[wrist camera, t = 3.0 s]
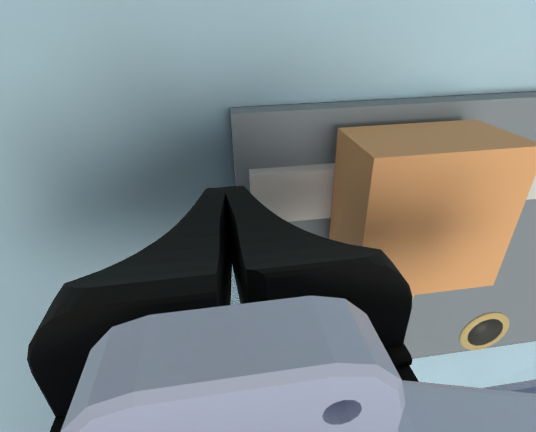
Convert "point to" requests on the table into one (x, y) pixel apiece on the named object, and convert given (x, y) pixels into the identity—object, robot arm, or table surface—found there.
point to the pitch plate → (321, 191)
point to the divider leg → (432, 198)
